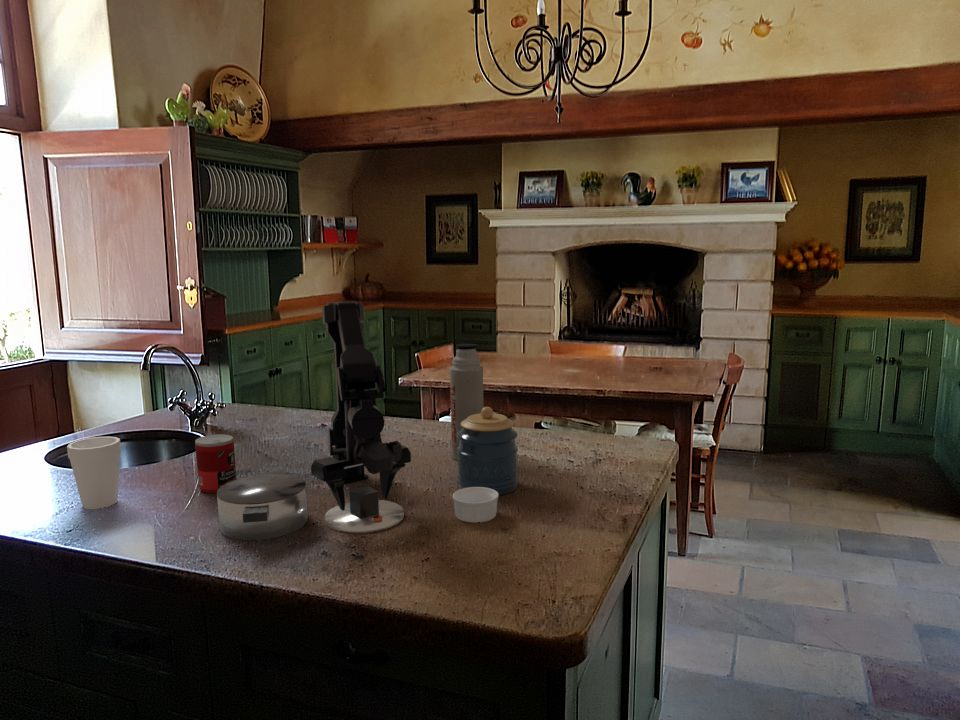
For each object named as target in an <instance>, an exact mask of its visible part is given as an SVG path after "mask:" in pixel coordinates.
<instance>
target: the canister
mask: <svg viewBox="0 0 960 720" xmlns="http://www.w3.org/2000/svg"><path fill="white" fill-rule="evenodd" d="M514 424H515V423H514V421H513V420H512V419H509V418H508V417H507V416H506V415H504V414H501V413H495V412H494V410H493V409H492V408H491V407H490V406H484V408H483V409H482V410H481V414H474V415H471V416H469V417H467V419H465V420H463V421H462V422H461V426H462V427H463V428H462V430H460V431H459V432H458V433H457V437H458V438H459V439H460V443H459V447H458V448H457V452H458V461H457V462H458V463H457V464H458V465H457V471H458V475H457V483H458V487H459V488H458V489H459V490H460V489H463V488H469V487H485V488H490V489H493V490H495V491H497V492H498V494H499V496H503V495H507V494H510V493H512V492H514V491H515V490H516V489H517V486H518V482H519V479H518V478H519V474H518V451H519V449H518V446H517V445H516V439H517V437H518V435H519V433H518V432H517V431H516V430H515V429H514V428H513V426H514Z"/></svg>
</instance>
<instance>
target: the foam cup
mask: <svg viewBox="0 0 960 720" xmlns="http://www.w3.org/2000/svg"><path fill="white" fill-rule="evenodd" d="M66 450H67V458H68V459H69V461H70V462H69V463H70V465H71V469H72V472H73V476H74V481H75V483H76V487H77V491H78V494H79V498H80V503H81V504H82V505H81V506H82V508H83V509H85V510H90V509H91V510H100V509H99V508H101V509H105V508H104V507H106V508H109V507H111V505H112V506H114V505H116V504H117V502H118V498H119V481H120V480H119V478H120V459H121V458H120V455H121V451H122V445H121V439H120V438H118V437H117V436H109V435H108V436H96V437H86V438H82V439H78V440H75V441H73V442H70V443H68V445H67V446H66ZM115 503H116V504H115ZM113 504H114V505H113ZM108 506H109V507H108Z"/></svg>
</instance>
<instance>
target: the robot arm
mask: <svg viewBox="0 0 960 720" xmlns="http://www.w3.org/2000/svg"><path fill="white" fill-rule="evenodd" d="M321 309H322V310H321V312H322V313H321V315H322V318H321V319H322V324H323V325H325V331H326V333H327V334H328V336H329V337H330V338H331V339H332V341H333V348H334V349H333V350H334V366H335V367H334V369H335V388H336V409H335V411H334V412H333V415H332V416H331V419H330V427H328V430H327V432H328V433H327V450H328V453H329V456H328V457H322V458H319V459H314V460H313V462H312V463H311V465H310V473H311V476H313V477H315V478H316V479H319V480H320V481H322V482H325V483H326V484H327V486H328V488H329V489H330V491H331V493H332V496H333V497H334V499H335V501H336V502H337V503H336V504H338V505H339V507H340V509H341V510H342V511H344V510H345V503H346V498H345V487H344V486H345V484H348V483H351V482H357V481H360V480H365V479H368V478H369V475H368V474H366V473H365V468H366V470H367V472H368V473H370V474H372V475H377V474H379V482H380V491H381V496H382V497H381V498H382V500H387V499H388V497H389V495H390V494H389V493H390V492H391V488H392V485H393V482H394V479H395V476H396V474H397V473H398V472H399V471H400V470H401V469H402V468H405V467H406V465H407V464H408V463H411V461H412V453H411V450H410V449H409V447H408V446H405V445H402V444H401V443H400V442H399V441H398V440H395V441H390V442H383V440H382V434H381V433H382V431H383V430H384V427H385V418H384V415H383V413H382V412H381V411H380V409H379V408H378V406H377V403H376V400H377V399H384V398H385V394H384V393H386V384H385V378H384V372H383V370H382V369H381V366H380V365H379V364H377V362H376V358H375V355H374V353H373V352H372V351H370V350H369V349H367V348H366V345H365V339H364V335H363V330H362V325H361V323H364V322H365V311H364V310H365V309H364V304H362V303H359V302H357V301H332V302H331V301H330V302H329V301H328V302H327V305H323V307H322V308H321ZM376 388H377V389H376ZM338 505H337V506H338Z"/></svg>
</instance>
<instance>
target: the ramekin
mask: <svg viewBox="0 0 960 720" xmlns="http://www.w3.org/2000/svg"><path fill="white" fill-rule="evenodd" d="M499 496H500V495H499V494H498V492H497V491H495V490H493V489H490V488H485V487H469V488H463V489H460V488H459V489H458V490H456V491H455V492H454V491H453V494H452V500H453V504H454V505H453V506H454V515H455V517H456V518H457V519H458V520H459V521H462V522H465V523H470V522H471V523H472V524H478V522H480V523H485V522H489V521H491V520H493V519H494V518H495V517H496V516H497V513H498V512H497V511H498V509H497V508H498V499H499ZM471 523H470V524H471Z"/></svg>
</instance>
